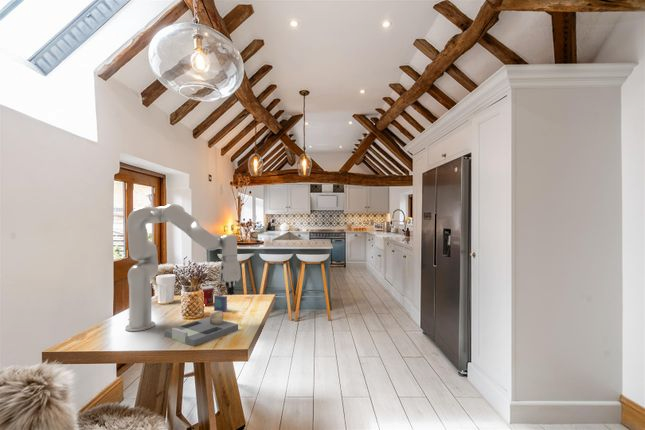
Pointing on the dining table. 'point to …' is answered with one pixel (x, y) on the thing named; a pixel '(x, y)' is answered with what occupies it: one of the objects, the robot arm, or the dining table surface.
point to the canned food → (208, 295)
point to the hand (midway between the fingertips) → (230, 294)
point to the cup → (165, 288)
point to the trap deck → (200, 331)
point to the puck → (216, 317)
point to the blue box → (220, 302)
